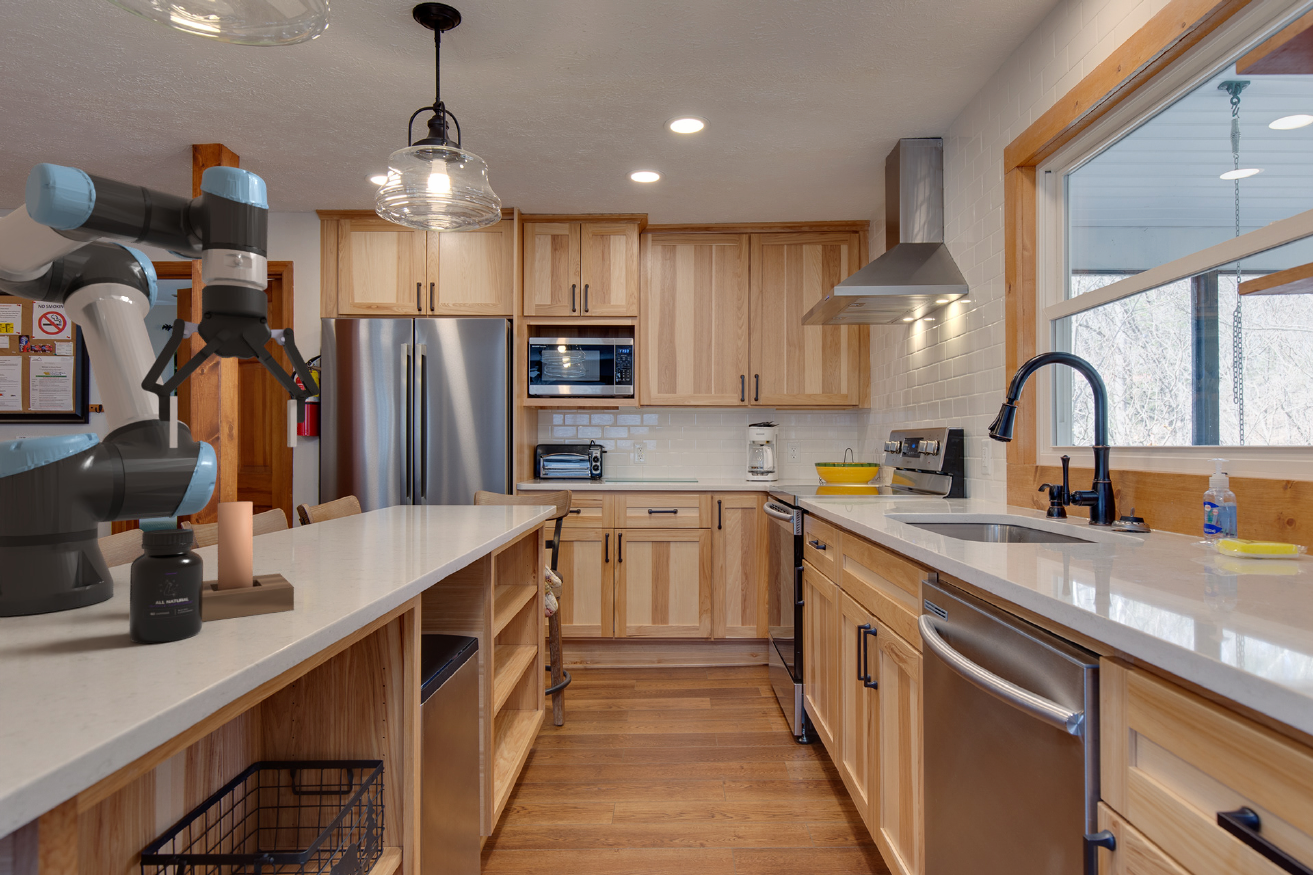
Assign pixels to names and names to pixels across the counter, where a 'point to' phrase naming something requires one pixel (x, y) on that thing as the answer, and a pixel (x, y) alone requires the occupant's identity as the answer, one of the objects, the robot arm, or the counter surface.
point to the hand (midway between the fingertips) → (235, 447)
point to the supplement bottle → (166, 588)
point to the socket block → (247, 598)
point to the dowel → (235, 545)
